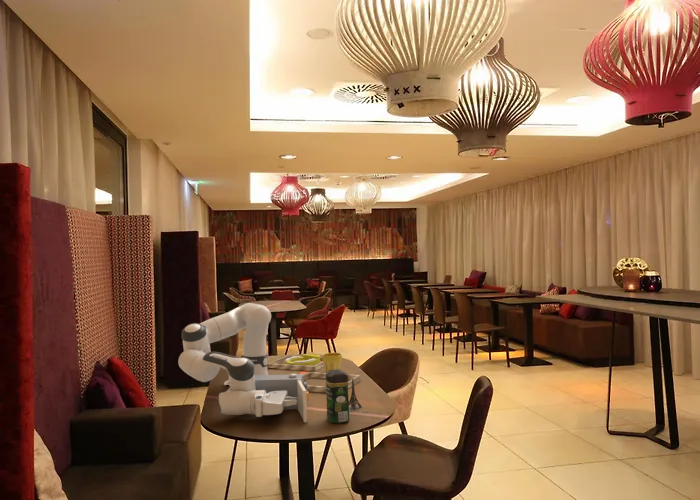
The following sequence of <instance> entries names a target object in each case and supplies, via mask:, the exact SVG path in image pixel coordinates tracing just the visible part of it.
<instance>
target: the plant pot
mask: <svg viewBox="0 0 700 500" xmlns="http://www.w3.org/2000/svg"><path fill="white" fill-rule="evenodd" d="M321 357H322V361H323V362H324V369H325V373H327V372H328V371H329V370H335V369H340V368H341V362H342V361H343V354H342V353H340V352H327V353H322V355H321ZM340 370H341V369H340Z"/></svg>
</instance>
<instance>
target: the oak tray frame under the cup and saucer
mask: <svg viewBox="0 0 700 500" xmlns="http://www.w3.org/2000/svg"><path fill="white" fill-rule="evenodd" d="M347 375H348V390H349V389H350V388H352V379H354V385H356V384H357V383H359V382H360V381H361V374H347ZM308 379H323V380H324V379H325V380H326V372H315V371H307V372H306V373H304V374H303V382H305V381H306V380H308ZM307 387H308V392H310V393H323V394H326V386H322V385H321V386H320V385H309V384H307Z"/></svg>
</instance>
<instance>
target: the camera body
mask: <svg viewBox="0 0 700 500" xmlns="http://www.w3.org/2000/svg"><path fill="white" fill-rule="evenodd" d="M303 375H304V374H301V373H299V374H298V373H289V374H268V375H256V376H255V386H256V390H265V391H266V393H269V392H271V391H282V390H285V391H287V392H288V396H289V397H297V378H300V380H301V382H302V384H303V386H304V387H305V389H306V392H307V391H308V387H307V385H308V382H307V381H303ZM283 410H298V403H297V404H296V405H290V406H284V408H283Z"/></svg>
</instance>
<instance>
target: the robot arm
mask: <svg viewBox="0 0 700 500" xmlns="http://www.w3.org/2000/svg"><path fill="white" fill-rule="evenodd" d="M271 319H272V313H271V311H270V310H269V308H267V307H266V306H265V305H263V304H258V303H252V302H248V303H247V302H246V303H244V304H242V305H239V306H238V307H236V308H233V309H231V310H229V311H228V312H225V313H223V314H219V315H218V316H214V317H211V318H208V319H206V320H205V321H203V322H202V321H201V322H200V323H198V322H193V323H189V324H187V325H186V326H185V327H184V328H183V329H181V339H182V346H183V352H181V353H180V355H179V357H178V361H177V362H178V363H177V364H178V366H179V368H180V369H181V370H182V372H184V373H186V374H187V375H188V376H190V377H191V378H193V379H195V380H196V381H199V382H202V383H207V382H209V381H212V380H213V379H215V377H217V375H218V374H219V372H220V370H221V369H223V370H225V371H226V372H227V374H228V380H225V381H224V382H223V386H226V385H229V386H228V387H229V388H228V389H227V390H225V391H224V392H219V394H218V395H217V406H218V411H219V412H220V413H221V414H223V415H228V416H231V415H232V416H242V415H246V414H249V415H255V417H257V418H261V417H263V416H273V415H279V414H282V412H283V411H284V409H283V408H284V406H290V405H296V404H297V401H298V398H297V397H289V396H288V392H287V391H285V390H282V391H271V392H269V393H266V391H265V390H256V386H255V376H256V375H269V372H268V370H269V369H268V368H267V364H268V354H267V333H268V329H269V324H270V323H271ZM244 329H245V332H244V336H243V339H242V355H241V356H234V355H232V354H231V355H230V354H227V353H223V352H219V351H211V344H212V343H215V342H219V341H222V340H224V339H227V338H230V337H231V336H235V335H237V334H238V333H240V331H242V330H244Z"/></svg>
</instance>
